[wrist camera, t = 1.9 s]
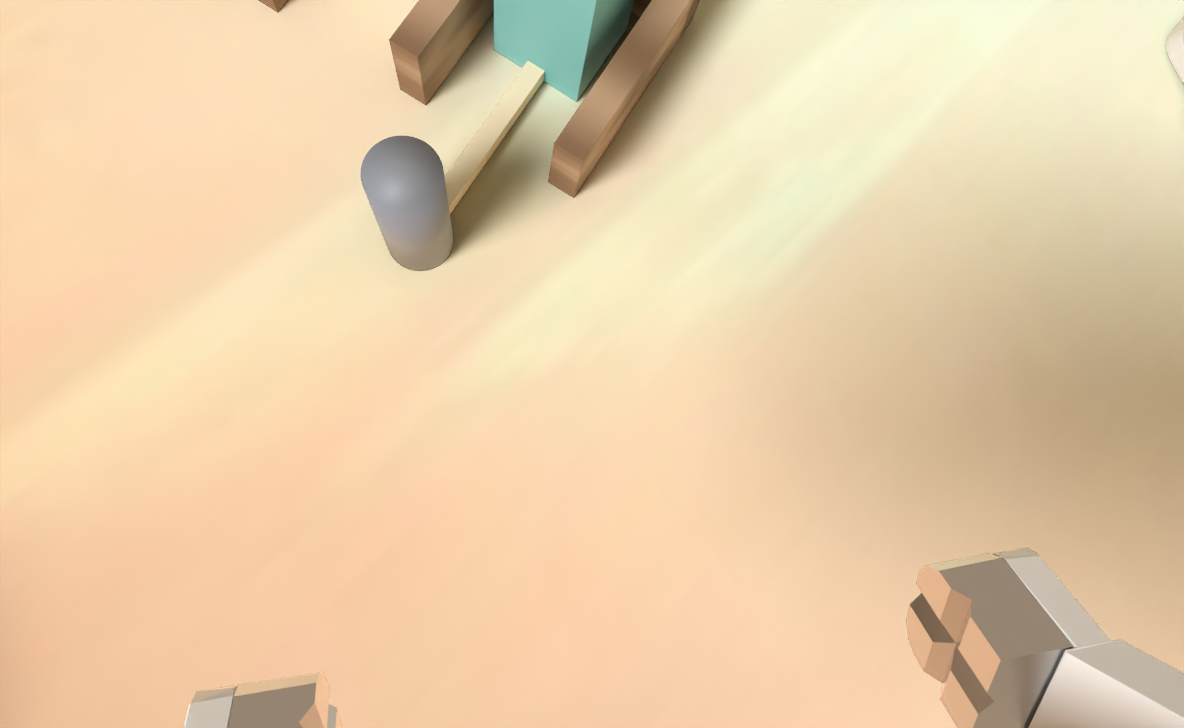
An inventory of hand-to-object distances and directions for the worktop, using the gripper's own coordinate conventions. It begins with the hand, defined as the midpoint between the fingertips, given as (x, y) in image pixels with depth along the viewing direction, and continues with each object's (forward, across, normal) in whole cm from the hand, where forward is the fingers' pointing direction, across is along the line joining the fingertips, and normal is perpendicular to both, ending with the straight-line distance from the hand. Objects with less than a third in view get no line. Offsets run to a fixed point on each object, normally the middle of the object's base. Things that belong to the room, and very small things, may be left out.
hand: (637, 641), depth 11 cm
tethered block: (+35, -1, +5) cm, 35 cm away
